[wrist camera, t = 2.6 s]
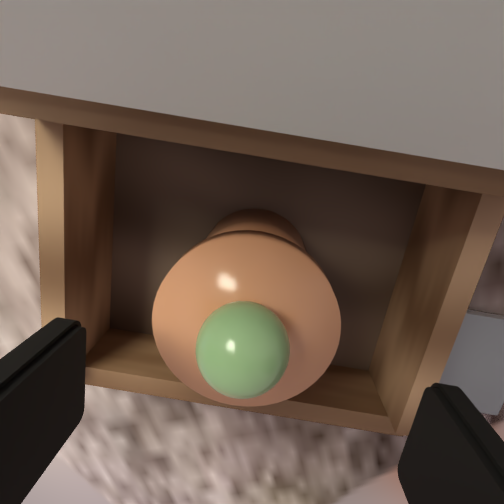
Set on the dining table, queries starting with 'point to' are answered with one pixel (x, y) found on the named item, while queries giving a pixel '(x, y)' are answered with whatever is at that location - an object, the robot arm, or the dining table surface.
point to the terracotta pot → (247, 313)
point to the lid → (279, 66)
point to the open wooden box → (268, 198)
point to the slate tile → (479, 361)
